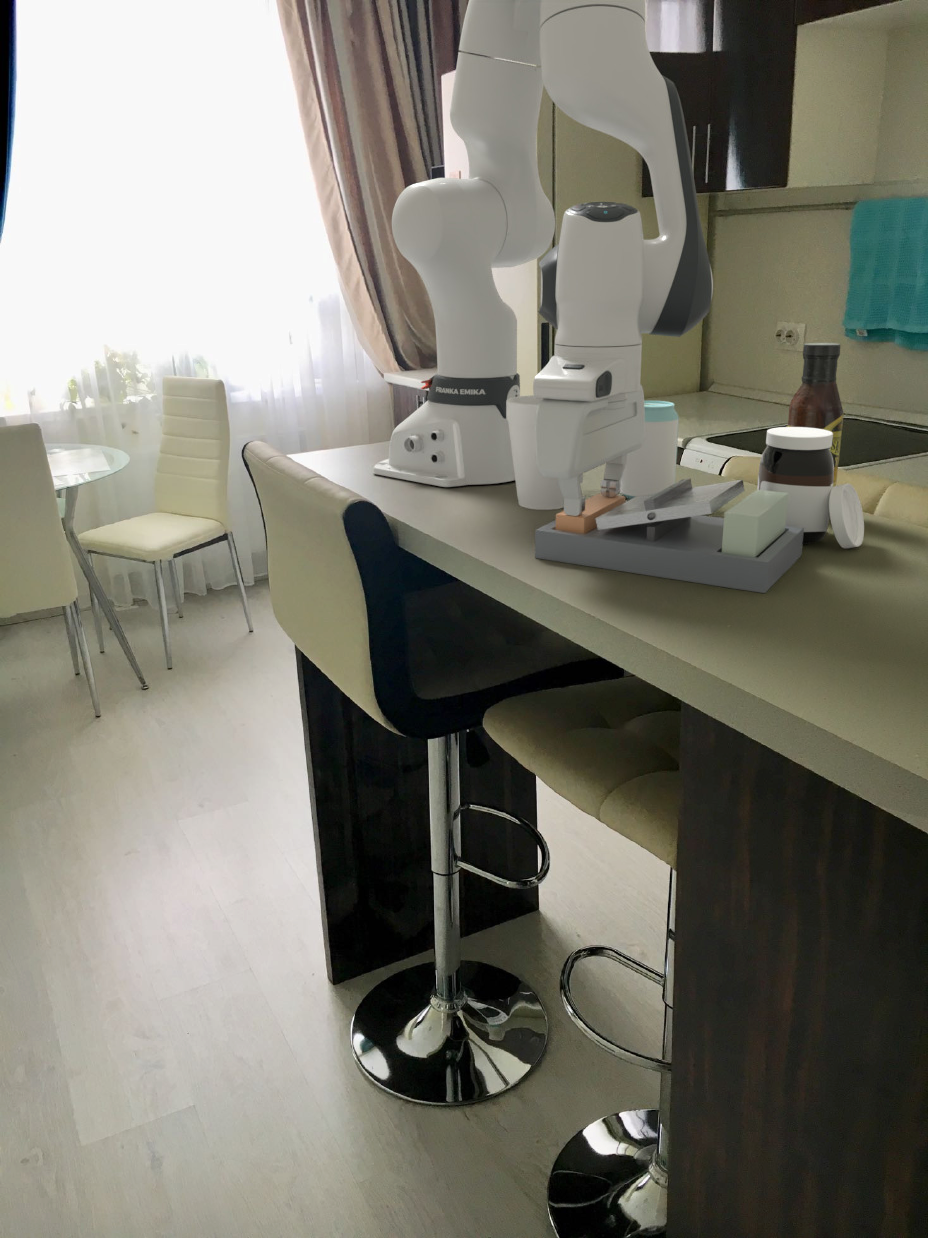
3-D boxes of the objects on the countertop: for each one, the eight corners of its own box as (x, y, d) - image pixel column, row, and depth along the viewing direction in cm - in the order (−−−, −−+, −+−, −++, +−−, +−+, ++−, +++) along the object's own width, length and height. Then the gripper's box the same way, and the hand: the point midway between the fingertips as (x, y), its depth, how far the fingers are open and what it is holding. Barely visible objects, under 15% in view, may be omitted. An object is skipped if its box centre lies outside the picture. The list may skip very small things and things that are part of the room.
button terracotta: (555, 551, 106) (555, 514, 104) (597, 527, 115) (598, 493, 113) (583, 555, 104) (584, 518, 103) (623, 531, 113) (625, 496, 112)
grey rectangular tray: (534, 557, 106) (535, 516, 104) (589, 527, 117) (591, 489, 115) (764, 593, 94) (769, 546, 92) (801, 555, 105) (805, 513, 104)
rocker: (596, 530, 102) (592, 509, 102) (639, 506, 112) (635, 487, 111) (710, 514, 96) (706, 491, 95) (745, 490, 105) (741, 469, 104)
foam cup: (525, 515, 122) (526, 407, 118) (494, 499, 130) (494, 397, 126) (594, 507, 126) (597, 402, 121) (560, 492, 134) (562, 393, 129)
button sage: (721, 553, 96) (724, 512, 95) (753, 527, 105) (756, 489, 104) (754, 557, 95) (758, 516, 94) (784, 531, 104) (788, 492, 102)
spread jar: (749, 523, 118) (758, 423, 114) (850, 527, 116) (863, 425, 112) (759, 552, 107) (769, 442, 103) (871, 556, 105) (886, 444, 101)
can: (616, 501, 129) (620, 406, 125) (621, 489, 135) (625, 398, 131) (672, 503, 127) (678, 407, 123) (675, 491, 134) (680, 399, 130)
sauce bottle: (836, 520, 119) (856, 346, 112) (781, 517, 120) (798, 345, 113) (828, 506, 125) (847, 341, 118) (776, 505, 126) (792, 340, 119)
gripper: (608, 361, 113) (604, 482, 118) (524, 381, 97) (523, 521, 101) (662, 364, 110) (655, 488, 115) (584, 385, 94) (580, 529, 98)
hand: (592, 504), depth 108 cm, fingers open, 8 cm apart
